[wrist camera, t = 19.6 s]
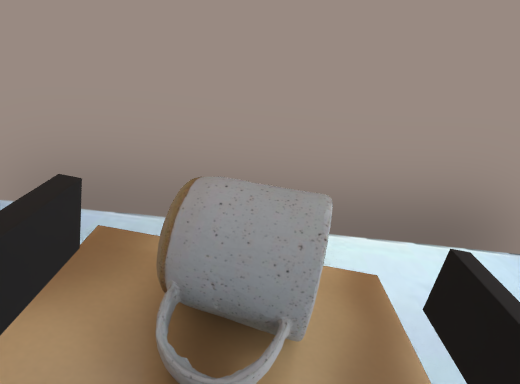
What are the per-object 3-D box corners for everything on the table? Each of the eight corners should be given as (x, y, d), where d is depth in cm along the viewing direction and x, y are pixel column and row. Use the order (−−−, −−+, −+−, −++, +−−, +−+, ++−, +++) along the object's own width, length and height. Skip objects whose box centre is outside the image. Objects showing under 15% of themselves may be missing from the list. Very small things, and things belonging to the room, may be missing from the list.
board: (367, 301, 29) (377, 275, 28) (464, 538, 15) (490, 501, 14) (96, 254, 28) (98, 224, 27) (-73, 468, 14) (-81, 421, 13)
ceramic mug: (191, 253, 26) (207, 147, 23) (307, 285, 25) (338, 180, 22) (105, 377, 16) (113, 219, 13) (291, 436, 15) (345, 283, 12)
